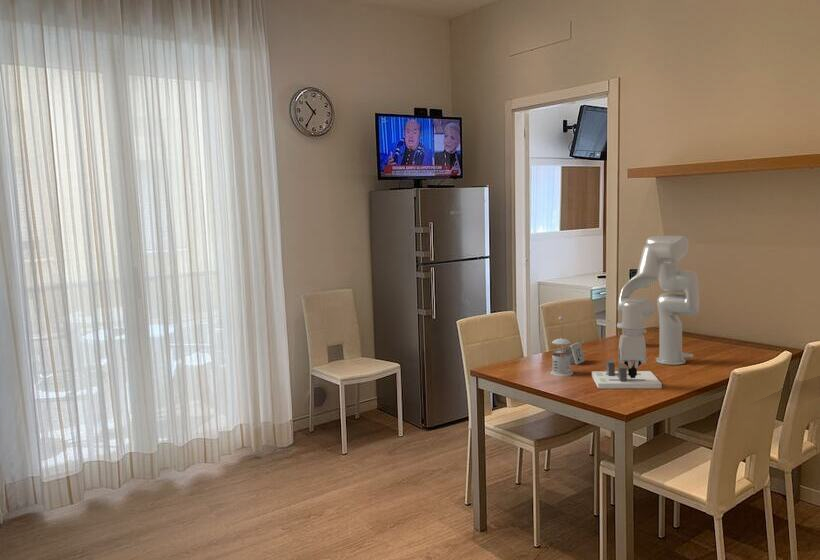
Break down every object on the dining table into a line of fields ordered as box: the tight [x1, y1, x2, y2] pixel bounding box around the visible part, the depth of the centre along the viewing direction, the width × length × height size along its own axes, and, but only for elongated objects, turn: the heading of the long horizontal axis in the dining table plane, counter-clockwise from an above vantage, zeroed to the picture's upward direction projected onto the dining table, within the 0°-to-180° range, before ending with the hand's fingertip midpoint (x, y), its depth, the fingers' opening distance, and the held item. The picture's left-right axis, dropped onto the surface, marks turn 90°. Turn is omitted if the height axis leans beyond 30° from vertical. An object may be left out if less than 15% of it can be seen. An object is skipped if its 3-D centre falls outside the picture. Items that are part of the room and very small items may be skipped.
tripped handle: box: [617, 364, 628, 381], centre depth 256 cm, size 2×5×5 cm, turn 172°
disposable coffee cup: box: [616, 321, 622, 341], centre depth 324 cm, size 10×10×12 cm
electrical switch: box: [565, 341, 586, 366], centre depth 296 cm, size 9×5×9 cm, turn 141°
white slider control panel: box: [591, 359, 663, 389], centre depth 260 cm, size 24×19×8 cm
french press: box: [550, 316, 574, 377], centre depth 278 cm, size 10×12×25 cm
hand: (632, 377), depth 255 cm, fingers closed
